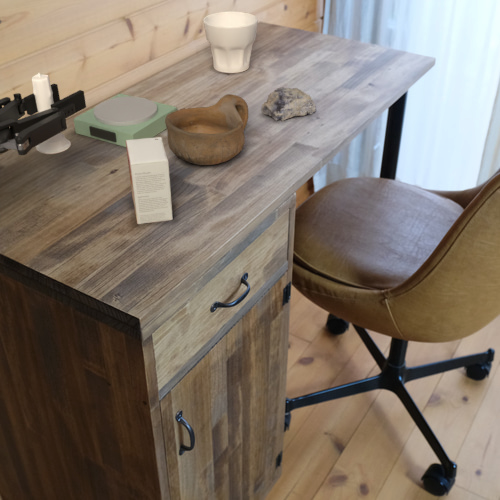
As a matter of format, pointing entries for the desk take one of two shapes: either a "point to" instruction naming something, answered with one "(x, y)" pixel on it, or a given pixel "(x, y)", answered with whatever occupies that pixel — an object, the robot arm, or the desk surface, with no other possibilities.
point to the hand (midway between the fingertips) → (69, 95)
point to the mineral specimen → (288, 104)
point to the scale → (123, 119)
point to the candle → (44, 103)
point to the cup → (231, 39)
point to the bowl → (208, 131)
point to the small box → (149, 180)
